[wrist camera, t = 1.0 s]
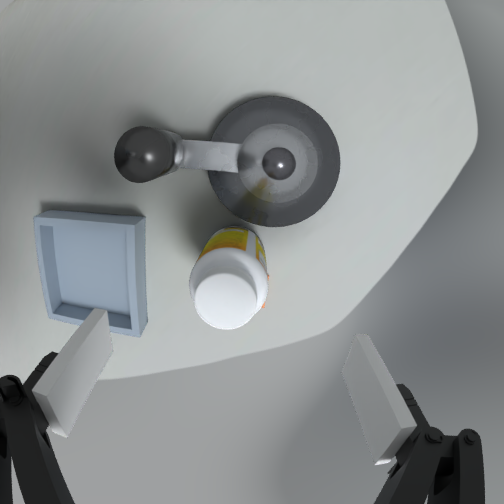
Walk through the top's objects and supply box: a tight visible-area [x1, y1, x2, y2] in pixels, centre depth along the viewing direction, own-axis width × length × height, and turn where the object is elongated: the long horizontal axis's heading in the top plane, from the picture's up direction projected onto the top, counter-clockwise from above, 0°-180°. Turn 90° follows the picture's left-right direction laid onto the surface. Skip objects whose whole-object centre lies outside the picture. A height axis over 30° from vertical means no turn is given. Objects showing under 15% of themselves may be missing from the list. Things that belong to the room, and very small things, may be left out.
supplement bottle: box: [189, 226, 268, 329], centre depth 23 cm, size 6×6×10 cm
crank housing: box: [208, 96, 340, 227], centre depth 25 cm, size 11×11×2 cm
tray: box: [34, 210, 148, 337], centre depth 27 cm, size 12×12×3 cm
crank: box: [114, 123, 318, 203], centre depth 20 cm, size 14×6×6 cm, turn 83°
